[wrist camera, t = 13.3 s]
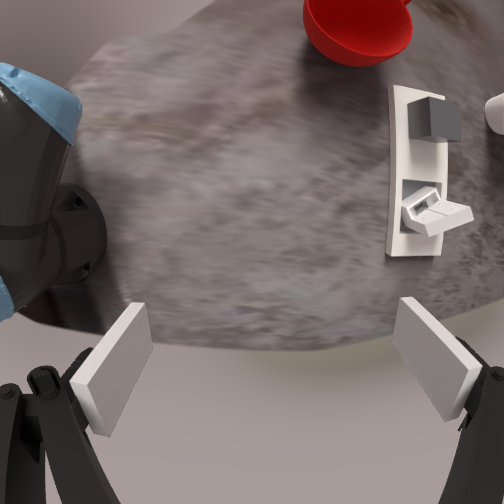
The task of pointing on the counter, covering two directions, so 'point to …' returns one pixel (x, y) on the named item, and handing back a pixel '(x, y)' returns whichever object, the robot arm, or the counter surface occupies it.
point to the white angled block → (433, 212)
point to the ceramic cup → (358, 29)
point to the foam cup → (495, 113)
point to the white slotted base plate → (417, 161)
